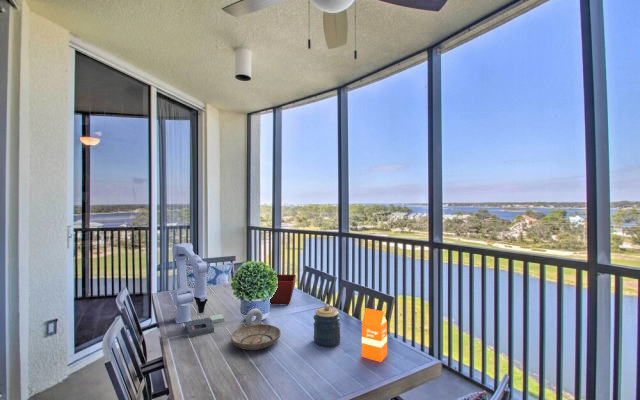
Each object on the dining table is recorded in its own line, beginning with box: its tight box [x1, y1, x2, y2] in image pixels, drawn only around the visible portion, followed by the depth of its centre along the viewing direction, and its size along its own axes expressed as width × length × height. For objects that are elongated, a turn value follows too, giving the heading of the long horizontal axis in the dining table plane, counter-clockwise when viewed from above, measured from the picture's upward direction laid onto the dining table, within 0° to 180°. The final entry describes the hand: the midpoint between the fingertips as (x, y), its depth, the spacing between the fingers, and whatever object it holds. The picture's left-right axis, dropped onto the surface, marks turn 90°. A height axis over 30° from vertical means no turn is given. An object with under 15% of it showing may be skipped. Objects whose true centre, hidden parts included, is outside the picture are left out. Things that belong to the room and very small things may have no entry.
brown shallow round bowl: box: [230, 323, 281, 351], centre depth 143 cm, size 23×24×5 cm
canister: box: [313, 304, 341, 348], centre depth 144 cm, size 13×13×18 cm
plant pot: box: [269, 274, 297, 305], centre depth 204 cm, size 19×19×17 cm
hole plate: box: [184, 317, 215, 338], centre depth 159 cm, size 16×12×3 cm
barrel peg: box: [196, 305, 206, 316], centre depth 157 cm, size 4×4×7 cm
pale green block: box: [208, 313, 225, 325], centre depth 171 cm, size 7×7×2 cm
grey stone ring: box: [245, 308, 263, 326], centre depth 162 cm, size 10×4×10 cm, turn 135°
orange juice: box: [361, 307, 388, 363], centre depth 131 cm, size 8×9×20 cm
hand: (200, 311), depth 157 cm, fingers closed on barrel peg, 4 cm apart
